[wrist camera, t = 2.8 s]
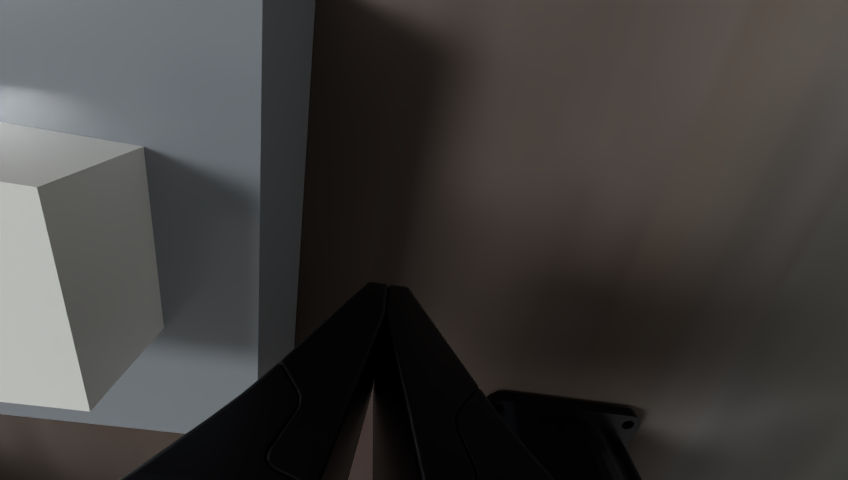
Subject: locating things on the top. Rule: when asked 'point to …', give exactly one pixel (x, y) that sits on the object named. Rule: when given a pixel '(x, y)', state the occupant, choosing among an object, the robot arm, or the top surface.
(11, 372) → the tile
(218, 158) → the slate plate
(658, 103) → the top surface
